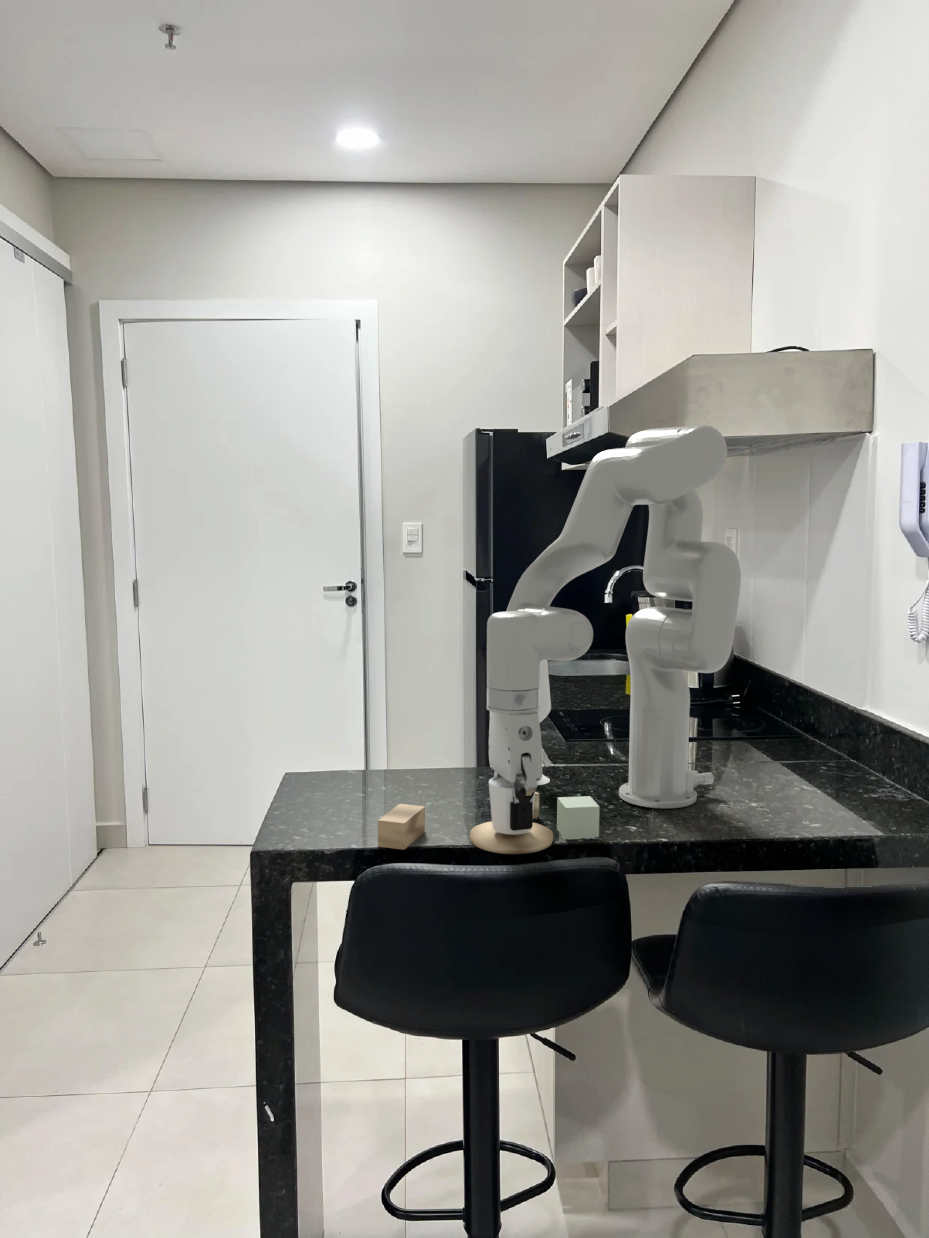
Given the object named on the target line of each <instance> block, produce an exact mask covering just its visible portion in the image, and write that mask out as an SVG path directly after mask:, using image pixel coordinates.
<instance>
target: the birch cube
mask: <svg viewBox="0 0 929 1238" xmlns="http://www.w3.org/2000/svg"><path fill="white" fill-rule="evenodd" d="M537 817H539V818H540V793H539V792H537V791H535V798H534V808H533V818H536V819H538V818H537Z"/></svg>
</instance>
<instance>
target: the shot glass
mask: <svg viewBox="0 0 929 1238" xmlns="http://www.w3.org/2000/svg"><path fill="white" fill-rule="evenodd" d="M516 779H517V780H524V777H523V776H516ZM523 787H524V784H523V785H517V788H518V792H519V791H520V789H521V788H523ZM488 791H489V801H490V802H489V803H490V811H491V812H490V813H491V821H492V825H493V829H494V830H495V831H496V832H499V833H503V834H513V835H515V834H523V833H527V832H529V831H530V830H531V829H524V830H516V831H513V830H512V829H510V802H513V798H512V788H511V783H510V782H509V781H507V780H506V779H505V778H503V777H502V776H498V777H494V776H493V777H491V778H489V779H488ZM533 796H534V798H535V793H534V795H533ZM533 808H534V801H533Z"/></svg>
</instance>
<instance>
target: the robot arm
mask: <svg viewBox="0 0 929 1238" xmlns="http://www.w3.org/2000/svg"><path fill="white" fill-rule="evenodd" d="M726 442H727V441H726V439H725V437H724V435H722V433H721V432H720V431H719V430H718V429H716V428H715V427H714V426H710V425H706V424H697V425H696V424H695V425H682V426H670V427H669V426H668V427H660V428H659V427H656V428H650V429H644V430H642V431H641V430H640V431H638V432H636V433H634V434H632V435H631V436H630V437H629V438H628V439H627V442H626V443H625V447H621V448H620V447H617V448H612V449H611V448H610V449H606V450H603V451H601V452H599V453H597V454H596V455H595V456H594V457H593V458H592V460H591V461H590V463H589V464H588V467H587V468H586V472H585V474H584V477H583V479H582V481H581V484H580V486H579V489H578V491H577V495H576V497H575V499H574V502H573V505H572V507H571V510H570V512H569V513H568V517H567V519H566V522H565V524H564V527H563V529H562V531H561V533H560V535H559V536H558V538H557V539H555V540H554V541H553V542H552V543H551V544H550V545H548V546H547V547H546V549H544V550H543V551H542V552H541V554H540V555H538V556H537V557H536V559H535V560H534V561H533V562H532V563H531V564H530V565H529V566H528V567H527V568H526V569H525V571H524V572H523V573H522V574H521V576H520V578H519V579H518V582H517V583H516V586H515V588H514V591H513V593H512V595H511V598H510V599H509V603H508V605H507V608H506V611H498V612H494V613H492V614H491V615H490V616H489V617H488V619H487V622H486V625H487V626H486V710H487V711H489V713H490V714H489V727H488V729H489V730H488V760H489V765H490V768H491V769H492V771H491V772H492V773H493V777H498V776H502V777H503V778H505V779H506V780H507V781H509V782H510V783H511V788H512V798H513V802H510V829H512V830H513V831H516V830H524V829H531V828H532V826H533V823H534V822H533V820H534V819H533V801H534V796H533V795H534V793H535V792H536V790H537V788H538V785H537V781H540V780H541V778H542V775H543V754H542V753H543V751H542V747H543V746H542V734H541V726H540V724H541V722H540V723H539V717H538V712H537V711H538V710H539V709H540V662H541V661H542V660H547V661H557V662H558V661H559V662H566V661H568V662H569V661H573V660H576V659H578V658H580V657H582V656H583V655H584V654H586V653H587V652H588V651H589V649H590V647H591V646H592V643H593V639H594V630H593V629H594V628H593V626H592V624H591V622H590V620H589V618H587V617H586V616H585V615H584V614H582V613H580V612H579V611H577V610H573V609H569V608H564V607H563V608H562V607H555V606H551V604H552V602H553V600H554V598H555V597H556V596H557V594H558V593H559V592H560V591H561V589H562V588H563V587H564V586H566V585H567V584H568V583H569V582H570V581H572V580H574V579H575V578H577V577H579V576H581V575H583V574H586V573H587V572H589V571H592V570H594V569H596V568H597V567H600V566H601V565H603V564H606V563H607V562H609V561H610V560H611V559H612V558H613V557H614V556H615V555H616V552H617V549H618V546H619V544H620V541H621V538H622V536H623V533H624V531H625V528H626V525H627V523H628V520H629V518H630V515H631V512H632V511H633V508H634V507H635V506H636V505H637V506H638V505H648V511H649V512H648V513H649V514H648V517H649V518H648V528H647V537H646V544H645V552H644V560H643V571H642V572H643V573H642V582H643V585H644V588H645V590H646V591H647V593H649V594H650V595H652V596H654V597H656V598H661V599H666V600H673V601H674V600H675V601H684V602H692V608H691V609H692V610H691V609H684V608H677V607H676V608H675V607H667V606H666V607H664V606H649V607H644V608H642V609H640V610H638V611H637V612H635V613H634V614H633V615H632V616H631V618H629V621H628V622H627V625H626V629H625V638H624V639H625V646H626V652H627V658H628V663H629V673H630V674H629V677H630V704H629V706H630V708H629V746H628V747H629V749H628V751H629V752H628V782H625V783H624V784H622V785H620V787H619V788H618V796H619V798H620V799H621V800H623V801H624V802H626V803H628V804H631V805H634V806H635V805H636V806H639V807H642V808H644V807H645V808H651V809H679V808H684V807H688V806H691V805H693V804H694V803H696V802H697V797H698V796H697V795H698V794H697V792H696V790H695V789H694V788H697V786H698V785H701V786H703V785H705V786H706V785H711V784H714V782H715V777H714V775H713V773H712V772H711V771H710V772H702V773H701V772H700V773H699V772H698V770H690V769H689V743H690V742H689V737H690V735H689V734H690V733H689V732H690V707H691V693H690V687H689V683H688V680H687V678H686V675H685V674H684V671H688V672H693V673H700V674H701V673H702V674H712V673H715V672H718V671H719V670H721V669H722V668H724V666H725V665H726V664H727V662H728V661H729V657H730V656H731V653H732V649H733V646H734V645H733V644H734V638H735V632H736V631H735V630H736V624H737V623H736V622H737V616H738V607H739V603H740V602H739V601H740V592H741V583H742V571H741V567H740V566H741V565H740V562H739V559H738V557H737V554H736V553H735V552H734V551H733V549H732V548H731V547H730V546H728V545H726V544H724V543H720V542H717V541H702V534H703V531H702V530H703V523H704V522H703V519H704V509H703V505H702V501H701V498H700V497H699V495H698V493H697V491H696V489H698V488H700V487H702V486H703V485H706V484H708V483H710V482H711V481H713V480H714V479H715V478H716V477H717V476H719V474H720V473H721V472H722V470H723V468H724V466H725V464H726V461H727V458H728V457H727V456H728V447H727V443H726ZM516 776H523V777H524V780H517V779H516ZM523 784H524V787H523V788H521V789H520V791H519V792H518V788H517V785H523Z"/></svg>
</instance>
